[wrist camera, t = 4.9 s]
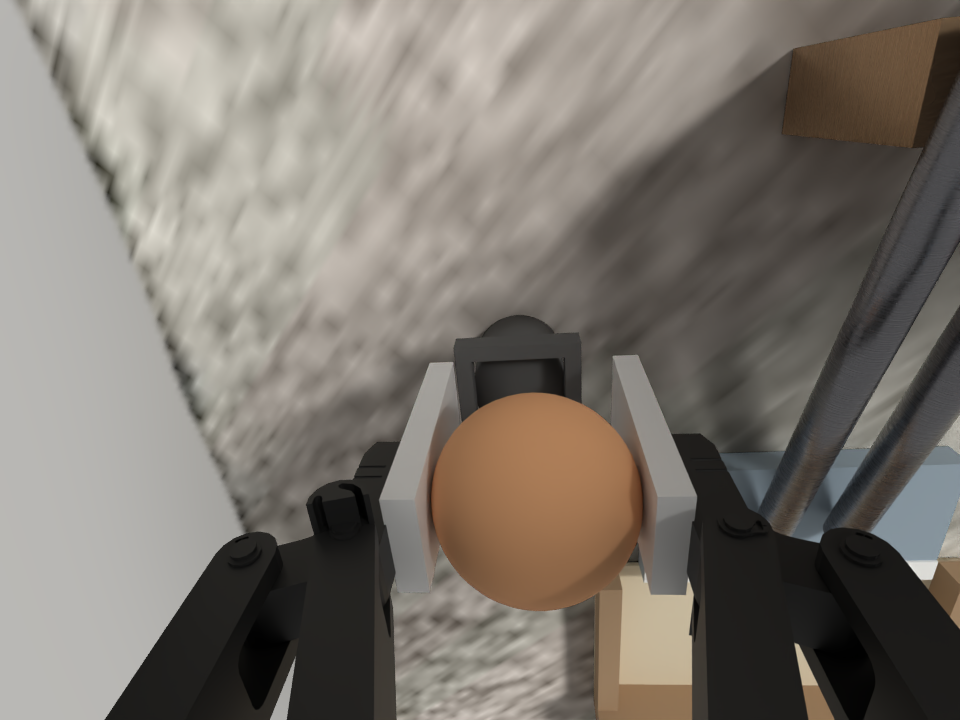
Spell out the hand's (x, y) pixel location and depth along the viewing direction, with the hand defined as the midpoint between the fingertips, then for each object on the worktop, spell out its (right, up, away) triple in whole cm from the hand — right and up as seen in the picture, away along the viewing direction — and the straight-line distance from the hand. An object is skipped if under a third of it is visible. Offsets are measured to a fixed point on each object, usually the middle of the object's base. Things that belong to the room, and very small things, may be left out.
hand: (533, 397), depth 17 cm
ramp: (+11, +3, +3) cm, 11 cm away
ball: (0, -2, -4) cm, 5 cm away
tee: (0, +1, +4) cm, 4 cm away
